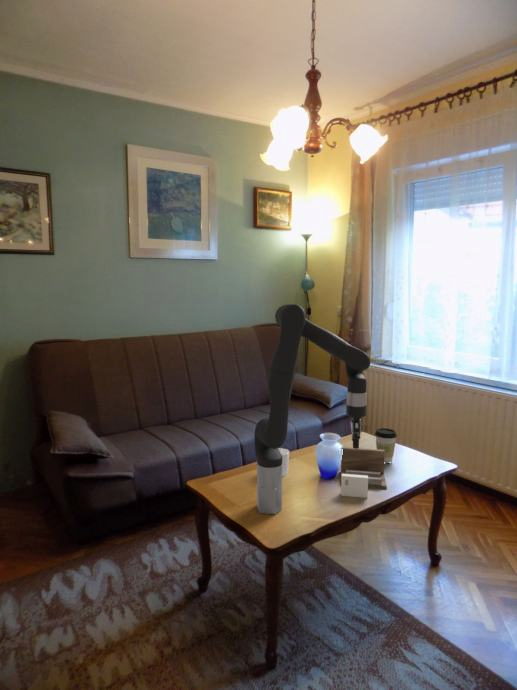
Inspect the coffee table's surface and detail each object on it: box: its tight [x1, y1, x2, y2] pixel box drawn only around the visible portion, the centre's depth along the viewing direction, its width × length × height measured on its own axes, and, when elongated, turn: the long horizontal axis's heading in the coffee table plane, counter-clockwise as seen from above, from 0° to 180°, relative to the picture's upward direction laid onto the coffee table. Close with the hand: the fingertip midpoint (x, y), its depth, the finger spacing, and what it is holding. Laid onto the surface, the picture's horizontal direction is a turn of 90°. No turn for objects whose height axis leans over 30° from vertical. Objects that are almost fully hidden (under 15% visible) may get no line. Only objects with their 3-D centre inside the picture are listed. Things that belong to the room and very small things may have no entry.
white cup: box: [278, 447, 290, 477], centre depth 193 cm, size 8×8×10 cm
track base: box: [340, 446, 388, 490], centre depth 187 cm, size 14×18×11 cm
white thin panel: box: [340, 474, 369, 499], centre depth 173 cm, size 2×10×8 cm, turn 80°
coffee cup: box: [374, 427, 398, 463], centre depth 206 cm, size 10×10×15 cm
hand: (355, 444), depth 171 cm, fingers open, 8 cm apart
